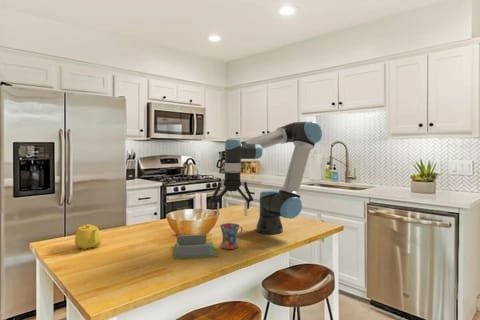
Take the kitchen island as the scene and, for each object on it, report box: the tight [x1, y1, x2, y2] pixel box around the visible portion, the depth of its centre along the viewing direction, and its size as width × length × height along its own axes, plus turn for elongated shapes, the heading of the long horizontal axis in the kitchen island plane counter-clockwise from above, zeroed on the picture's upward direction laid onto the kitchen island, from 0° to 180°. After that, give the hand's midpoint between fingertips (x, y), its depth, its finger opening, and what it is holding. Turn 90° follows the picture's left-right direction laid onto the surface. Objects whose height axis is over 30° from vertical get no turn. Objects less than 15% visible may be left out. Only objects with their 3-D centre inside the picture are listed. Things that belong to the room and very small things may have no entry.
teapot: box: [74, 223, 102, 251], centre depth 153 cm, size 18×11×11 cm, turn 42°
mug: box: [219, 222, 243, 250], centre depth 155 cm, size 12×9×11 cm
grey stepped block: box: [174, 233, 217, 260], centre depth 149 cm, size 18×18×5 cm
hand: (231, 216), depth 155 cm, fingers open, 13 cm apart
